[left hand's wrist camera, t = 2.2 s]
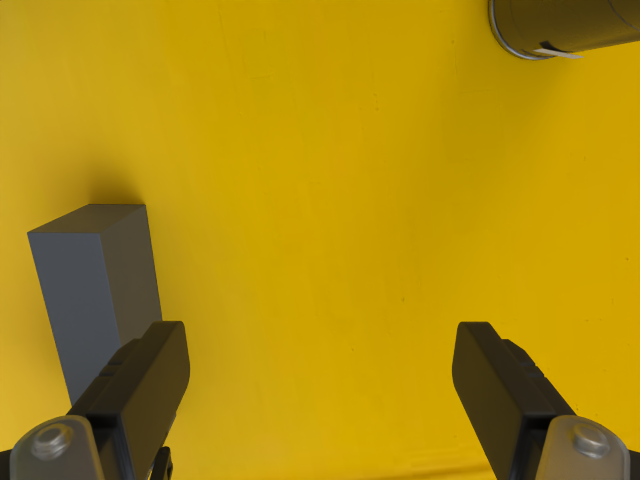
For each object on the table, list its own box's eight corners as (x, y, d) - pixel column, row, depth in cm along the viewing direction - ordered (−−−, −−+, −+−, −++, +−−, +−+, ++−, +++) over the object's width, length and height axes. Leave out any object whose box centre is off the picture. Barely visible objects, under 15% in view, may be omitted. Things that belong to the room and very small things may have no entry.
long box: (88, 204, 40) (26, 232, 31) (145, 204, 40) (99, 233, 31) (130, 415, 49) (90, 480, 41) (176, 415, 49) (146, 481, 41)
